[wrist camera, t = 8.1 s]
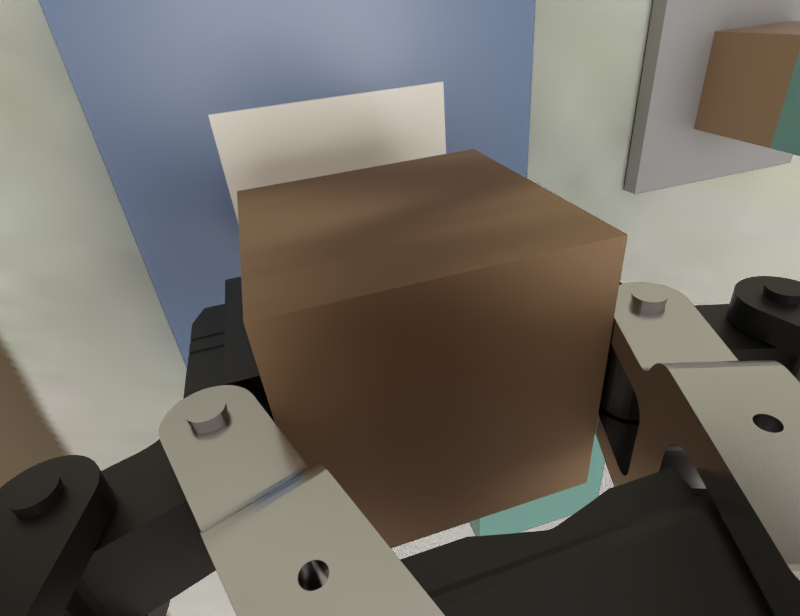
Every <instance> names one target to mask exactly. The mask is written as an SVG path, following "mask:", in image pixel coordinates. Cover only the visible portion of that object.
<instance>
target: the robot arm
mask: <svg viewBox="0 0 800 616" xmlns="http://www.w3.org/2000/svg"><path fill="white" fill-rule="evenodd" d="M190 340H191V343H190V347H189V355H190V356H188V365H187V373H186V382H185V391H184V399H183V400H181V401H180V402H179V403H177V404H176V405H175V406H174V407H173V408H172V409H171V410H170V411H169V412H168V413H167V414H166V416H165V417H164V419H163V421H162V422H161V425H160V428H159V438H160V439H159V440H158V441H157V442H155V443H154V444H152V445H151V446H149V447H148V448H146V449H144V450H143V451H141V452H139V453H137V454H135V455H133V456H131V457H129V458H127V459H125V460H123V461H121V462H119V463H117V464H115V465H113V466H111V467H109V468H107V469H105V470H103V471H100V469H99V467H98V466H97V464H96V463H95V462H94V461H93V460H91V459H90V458H87V457H85V456H78V455H68V456H62V457H57V458H54V459H50V460H47V461H44V462H42V463H39V464H37V465H35V466H33V467H31V468H29V469H27V470H25V471H23V472H22V473H20V474H19V475H17V476H16V477H14V478H13V479H11V480H10V481H9V482H7V483H6V484H5V485H4V486H2V487H1V488H0V616H166V613H167V610H168V607H169V603H170V599H172V598H173V597H175V596H177V595H178V594H180V593H181V592H183V591H184V590H186V589H187V588H189V587H191V586H192V585H194V584H195V583H197V582H198V581H200V580H201V579H203V578H204V577H206V576H208V575H209V574H211V573H212V572H214V571H215V570H216V571H217V573H218V575H219V577H220V580H221V582H222V584H223V586H224V589H225V591H226V593H227V595H228V598H229V600H230V602H231V604H232V607H233V609H234V611H235V613H236V616H800V282H799V281H796V280H791V279H787V278H781V277H771V276H758V277H750V278H746V279H743V280H741V281H740V282H738V283H737V284H736V285H735V288H734V292H733V295H732V298H731V301H730V304H720V305H697V306H694V305H693V304H692V302H691V301H690V300H689V299H688V298H687V297H686V296H685V295H683V294H682V293H680V292H678V291H676V290H674V289H672V288H669V287H666V286H663V285H658V284H653V283H644V282H634V283H626V284H622V283H621V282H620V284H619V290H618V296H617V302H616V308H615V314H614V320H613V326H612V332H611V339H610V345H609V351H608V357H607V363H606V369H605V375H604V381H603V387H602V394H601V400H600V406H599V412H598V418H597V424H596V430H595V434H596V437H597V439H598V442H599V445H600V448H601V451H602V453H603V456H604V459H605V462H606V465H607V468H608V470H609V473H610V476H611V479H612V482H613V484H614V487H613V488H610V489H608V490H607V491H605V492H604V493H602V494H601V495H600V496H598V497H597V498H595V499H594V500H593V501H591V502H590V503H589V504H587V505H586V506H584V507H583V508H582V509H580V510H579V511H577V512H576V513H575V514H573V515H572V516H571V517H569V518H568V519H566V520H565V521H564V522H562V523H561V524H559V525H558V526H556V527H555V528H553V529H550V530H546V531H536V532H524V533H511V534H499V535H486V536H474V537H466V538H463V539H460V540H457V541H454V542H451V543H448V544H445V545H442V546H439V547H436V548H433V549H430V550H427V551H424V552H421V553H418V554H416V555H413V556H410V557H407V558H404V559H401V560H400V559H399V558H398V557H397V556H396V554H395V553H394V552H393V551H392V549H391V548H390V547H389V546H388V544H387V543H386V542H385V541H384V539H383V538H382V537H381V536H380V534H379V533H378V532H377V531H376V530H375V528H374V527H373V526H372V525H371V523H370V522H369V521H368V520H367V518H366V517H365V516H364V515H363V513H362V512H361V511H360V510H359V508H358V507H357V506H356V505H355V503H354V502H353V501H352V500H351V498H350V497H349V496H348V495H347V494H346V492H345V491H344V490H343V489H342V487H341V486H340V485H339V484H338V482H337V481H336V480H335V479H334V477H333V476H332V475H331V474H330V473H329V471H328V470H327V469H326V468H325V467H324V466H323V465H322V464H320V463H318V462H315V463H314V464H312V465H310V466H309V467H308V465H307V464H306V463H305V462H304V461H303V459H302V458H301V457H300V455H299V454H298V453H297V452H296V450H295V449H294V448H293V446H292V445H291V444H290V442H289V441H288V440H287V438H286V437H285V436H284V435H283V433H282V432H281V431H280V429H279V428H278V427H277V425H276V424H275V422H274V418H273V415H272V412H271V409H270V406H269V403H268V399H267V396H266V393H265V390H264V387H263V383H262V380H261V377H260V374H259V371H258V368H257V364H256V361H255V358H254V355H253V352H252V348H251V345H250V342H249V339H248V336H247V333H246V329H245V326H244V323H243V303H242V283H241V277H236V278H231V279H226V280H225V304H221V305H216V306H212V307H207V308H204V309H203V311H202V312H201V313H200V314H199V316H198V317H197V318H196V320H195V321H194V322H193V323H192V330H191V338H190Z"/></svg>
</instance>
